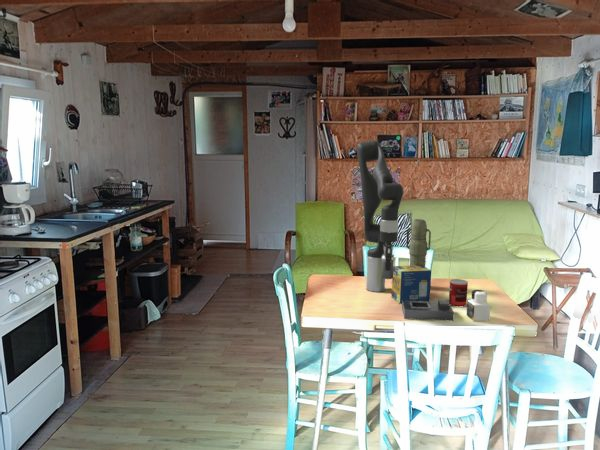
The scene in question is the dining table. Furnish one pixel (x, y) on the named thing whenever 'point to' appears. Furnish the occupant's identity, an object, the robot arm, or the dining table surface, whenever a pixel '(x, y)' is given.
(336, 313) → the dining table surface
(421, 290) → the protein box
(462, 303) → the canned food
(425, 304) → the grey panel
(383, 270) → the grey rounded cylinder
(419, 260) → the thermos
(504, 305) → the dining table surface
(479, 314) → the medicine bottle
